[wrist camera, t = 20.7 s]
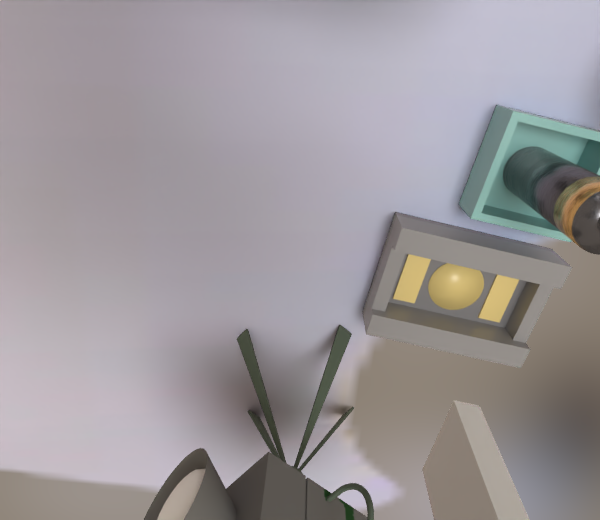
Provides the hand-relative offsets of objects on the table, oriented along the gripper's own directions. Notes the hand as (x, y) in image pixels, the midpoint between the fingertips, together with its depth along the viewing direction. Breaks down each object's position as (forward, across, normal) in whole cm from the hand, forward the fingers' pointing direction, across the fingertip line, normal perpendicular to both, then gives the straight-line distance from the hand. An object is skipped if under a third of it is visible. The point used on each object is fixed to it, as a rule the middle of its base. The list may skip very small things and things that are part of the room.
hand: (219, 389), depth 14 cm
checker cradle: (+29, +17, -7) cm, 34 cm away
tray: (+29, +19, +4) cm, 35 cm away
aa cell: (+28, +19, +4) cm, 34 cm away
